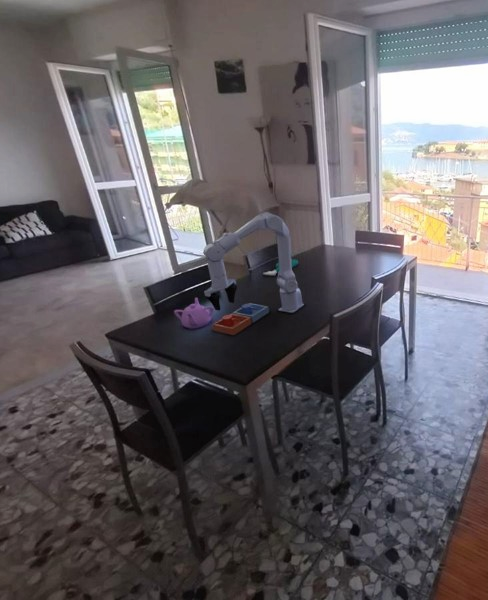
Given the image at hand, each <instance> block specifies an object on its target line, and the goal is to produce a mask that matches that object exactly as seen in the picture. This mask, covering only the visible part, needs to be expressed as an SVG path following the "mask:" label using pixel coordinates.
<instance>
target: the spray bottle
mask: <svg viewBox="0 0 488 600" xmlns="http://www.w3.org/2000/svg"><path fill="white" fill-rule="evenodd" d="M291 262H292V269H293V268H294V267H296V266H298V265H299V261H298V259H295V258H291ZM279 270H280V268H279V261H278V262H277V263H276V264H275V269H273V270H271V271H270V270H268V271H266V272H263V273H262V274H263V275H265V276H276V274H278V272H279Z"/></svg>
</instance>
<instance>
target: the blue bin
mask: <svg viewBox="0 0 488 600" xmlns="http://www.w3.org/2000/svg"><path fill="white" fill-rule="evenodd" d="M248 304H251V307H255V308H258V310H253V309H252V312H253V314H251V315H247V314H243V311H242V307H239V308H238V309H236V310H235V311H233V312H232V314H236V315H241V316H246V317H251V321H252V324H253V323H255V322H257V321H258V320H260V319H262V318H263V317H265V316H266V315H267V314H269V313H270V308H269V306H268V305H263V304H256V303H251V302H249V303H248Z"/></svg>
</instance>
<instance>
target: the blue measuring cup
mask: <svg viewBox="0 0 488 600" xmlns="http://www.w3.org/2000/svg"><path fill="white" fill-rule="evenodd" d="M241 308H242V311H243V314H247V315H251V314H253V312H252V309H253V310H258V308H255V307H251V304H249V303H244V304H242V305H241Z"/></svg>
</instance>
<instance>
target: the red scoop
mask: <svg viewBox="0 0 488 600" xmlns="http://www.w3.org/2000/svg"><path fill="white" fill-rule="evenodd" d="M221 319H222V320H223V324H224V326H227V327H232V326H234V321H237V322H239V321H240V320H239V319H234V318H233V316H232V315H229V314H226V315H223V316H222V317H221Z"/></svg>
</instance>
